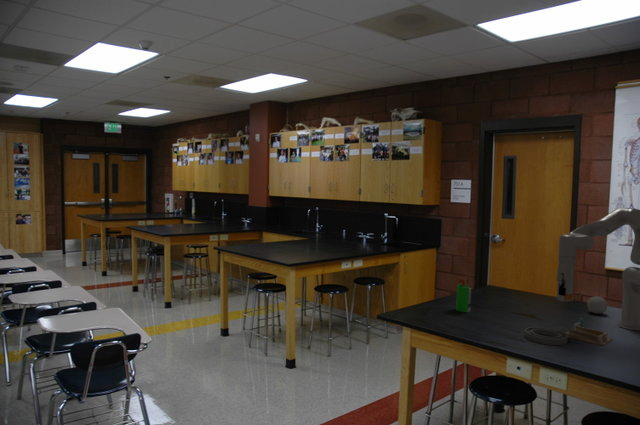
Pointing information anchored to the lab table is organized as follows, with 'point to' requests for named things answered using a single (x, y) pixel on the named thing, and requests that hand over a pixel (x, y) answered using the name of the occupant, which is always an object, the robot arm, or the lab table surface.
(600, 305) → the eye model
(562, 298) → the skincare box
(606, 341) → the rest
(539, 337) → the mechanical component
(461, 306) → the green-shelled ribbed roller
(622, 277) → the robot arm
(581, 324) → the gate
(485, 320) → the lab table surface
